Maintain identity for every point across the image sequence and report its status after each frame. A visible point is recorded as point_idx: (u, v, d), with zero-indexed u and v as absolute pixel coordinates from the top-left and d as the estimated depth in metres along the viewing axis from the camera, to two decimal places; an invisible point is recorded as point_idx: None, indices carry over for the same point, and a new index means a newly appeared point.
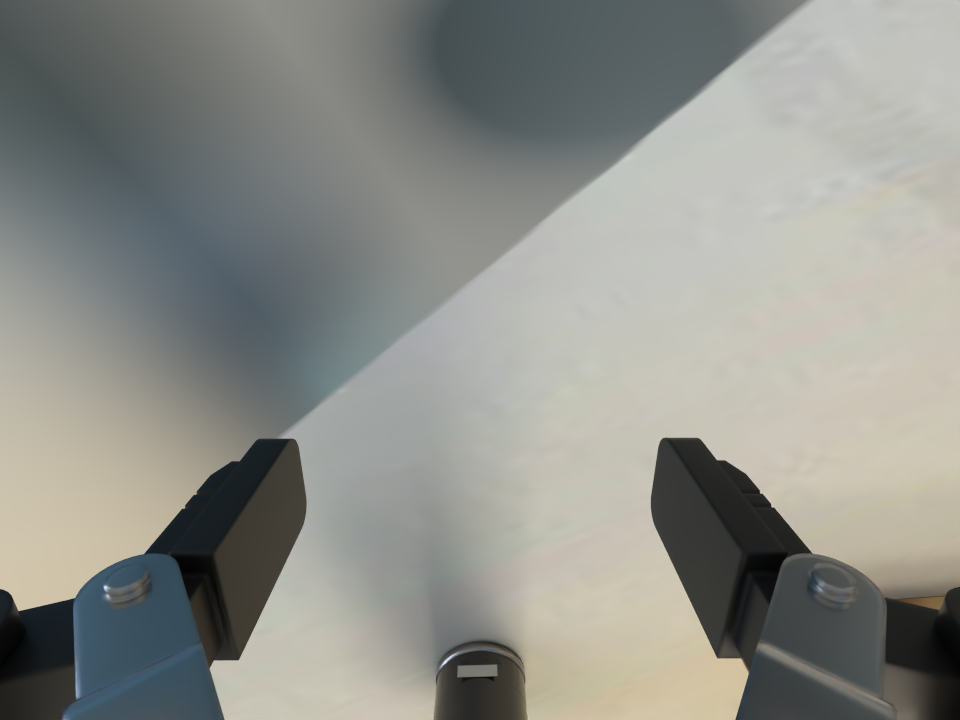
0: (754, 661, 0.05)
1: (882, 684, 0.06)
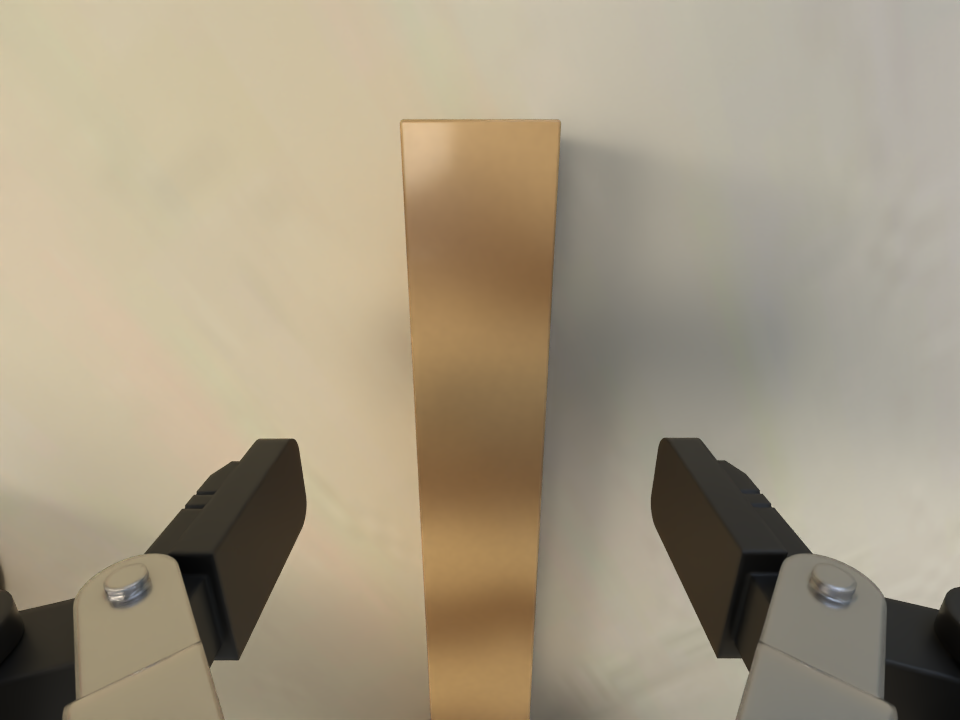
0: (753, 660, 0.05)
1: (882, 684, 0.06)
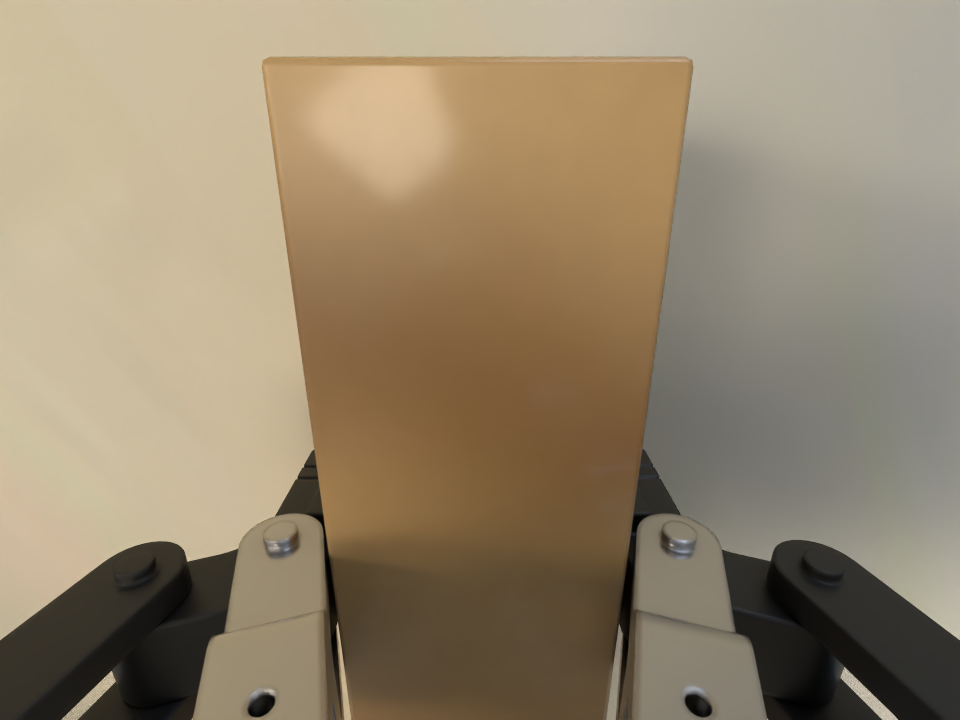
0: (636, 632, 0.06)
1: (690, 616, 0.06)
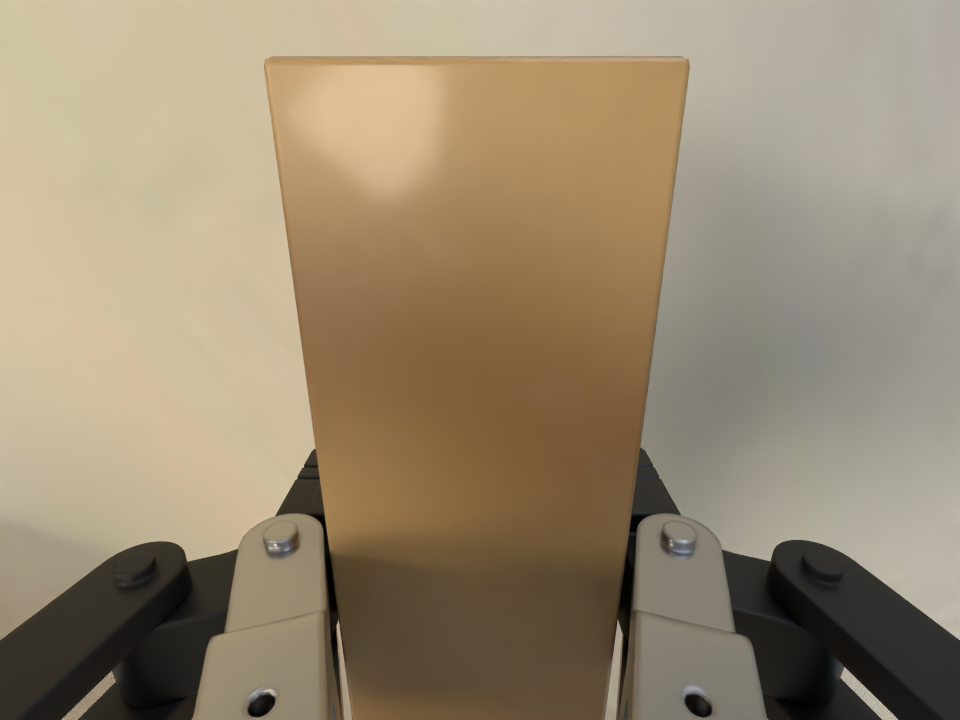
0: (637, 632, 0.06)
1: (690, 617, 0.06)
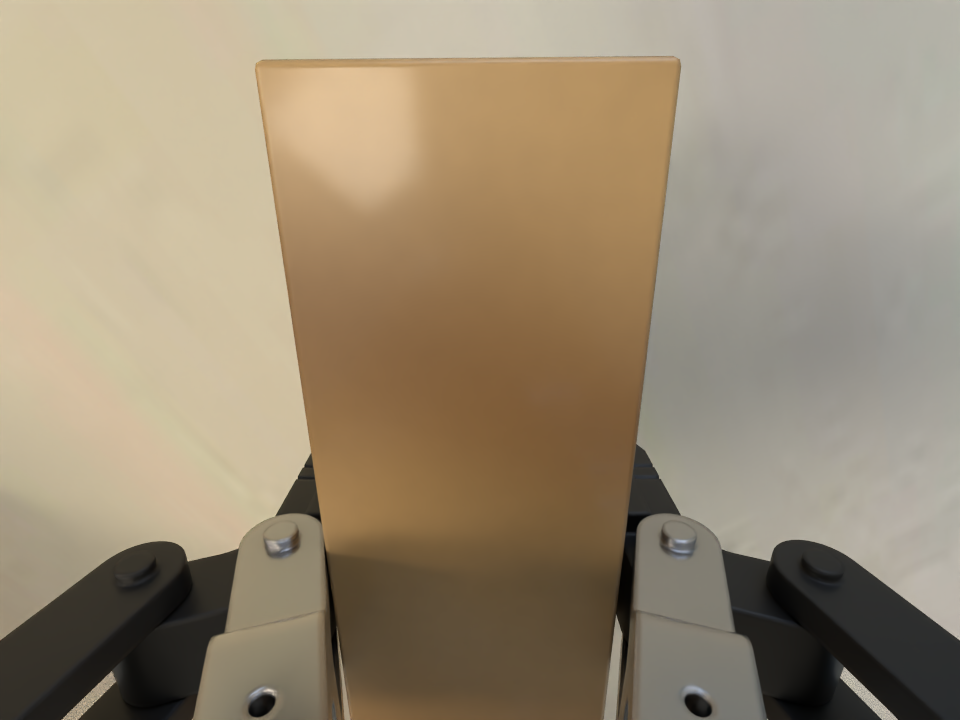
0: (637, 632, 0.06)
1: (690, 616, 0.06)
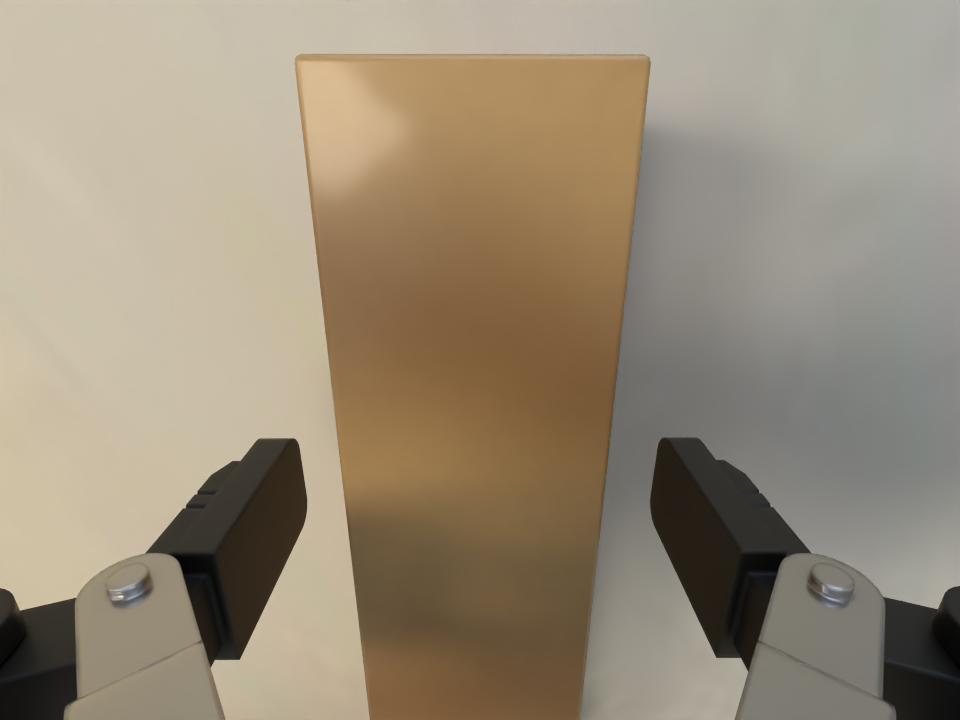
0: (753, 660, 0.05)
1: (881, 683, 0.06)
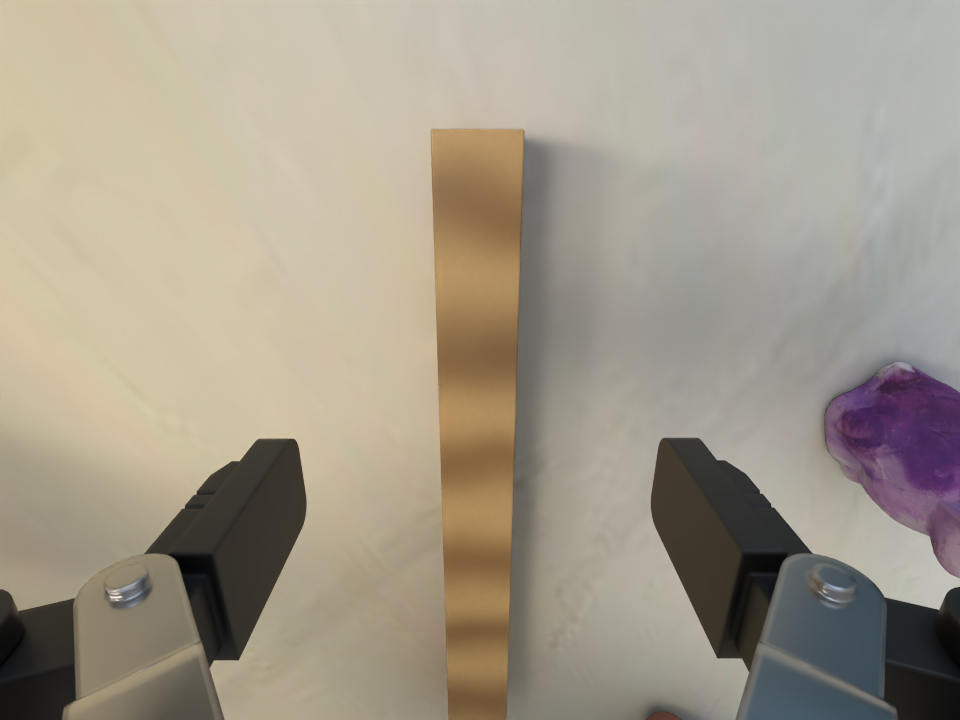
0: (754, 661, 0.05)
1: (882, 684, 0.06)
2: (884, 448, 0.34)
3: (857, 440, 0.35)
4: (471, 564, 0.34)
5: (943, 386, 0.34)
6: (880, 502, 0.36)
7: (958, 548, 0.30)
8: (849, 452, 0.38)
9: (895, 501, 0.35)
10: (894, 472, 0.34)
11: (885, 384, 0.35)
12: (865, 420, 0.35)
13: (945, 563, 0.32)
